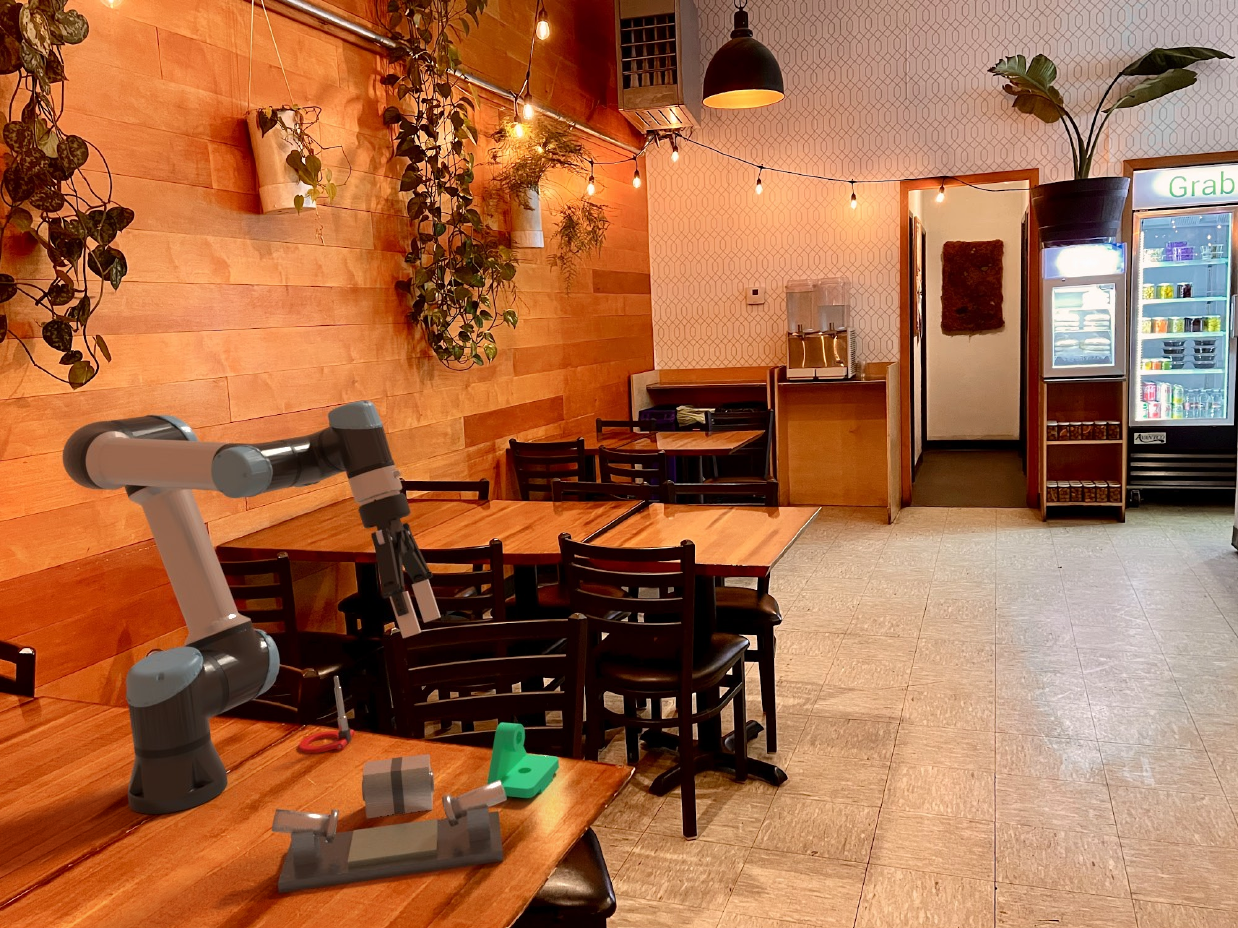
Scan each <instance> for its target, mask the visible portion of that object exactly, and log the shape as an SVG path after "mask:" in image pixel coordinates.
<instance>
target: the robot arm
mask: <svg viewBox="0 0 1238 928" xmlns="http://www.w3.org/2000/svg"><path fill="white" fill-rule="evenodd" d="M327 418H328V421H329V423H328V425H329V426H327V427H326V428H324V429H321V430H318V431H316V432H313V433H310V434H307V435H302V436H296V437H290V438H284V439H277V440H273V441H265V442H258V443H245V442H241V443H240V442H224V441H223V442H219V441H218V442H217V441H216V442H215V441H201V440H198V436H197V434H196V433H195V432H194V430H193V429H192V428H191V427H190V426H189V424H187V422H186V421H184V420H182V419H181V418H178V417H176V416H174V415H169V414H165V415H164V414H163V415H162V414H159V415H158V414H146V415H143V416H137V417H135V416H134V417H128V418H123V419H122V418H121V419H111V420H102V421H101V420H98V421H95V422H92V423H88V424H85V425H84V426H81V427H80V428H78V429H77V430H75V431H74V432H73V433H72V434H71V435H70V436H69V438H68V439H67V441H66V442H65V444H64V446H63V449H62V464H63V467H64V470H65V472H66V474H67V475H68V476H69V477H70V478H71V480H72V481H74V482H75V483H76V484H78V485H79V486H81V487H84V488H86V489H91V490H108V491H109V490H110V491H113V490H120V489H123V488H124V490H125V492H126V495H127V498H128V500H129V501H131V502H132V503H135V504H138V505H140V506H141V508H142V510H143V513H144V516H145V518H146V521H147V523H148V526H149V529H150V532H151V534H152V537H153V539H154V542H155V545H156V547H157V550H158V553H159V555H160V558H161V560H162V563H163V566H164V569H165V571H166V574H167V577H168V580H169V581H170V584H171V587H172V589H173V593H174V595H175V598H176V600H177V603H178V607H179V608H180V611H181V614H182V617H183V618H184V621H185V624H186V627H187V630H188V635H187V637H186V639H185V641H184V643H183V644H184V646H177V647H172V648H169V649H166V650H160V651H157V652H155V653H152V654H150V655H147V656H145V657H143V658H141V659H139V661H137V662H136V663H134V664H133V665H132V666H131V667H130V669H129V670H128V672H127V675H126V678H125V682H126V693H125V698H126V701H127V705H128V711H129V717H130V718H129V719H130V720H129V721H130V727H131V733H132V734H131V735H132V743H133V749H134V750H133V751H134V761H133V767H132V769H131V775H130V779H129V784H128V789H127V799H128V806H129V808H130V809H131V810H133V811H135V812H136V813H140V814H145V815H159V814H160V815H162V814H163V815H164V814H168V813H176V812H181V811H185V810H188V809H191V808H194V807H196V806H199V805H203V804H205V803H206V802H209V801H210V800H213V799H214V798H216V797H217V796H219V795H220V794H222V793H223V792H224V790H225V789H226V788H227V787H228V774H227V768H226V767H225V765H224V762H223V761H222V759H221V757H220V755H219V753H218V751H217V749H216V747H215V745H214V743H213V741H212V736H211V727H210V726H211V725H210V719H211V718H214V717H216V716H218V715H221V714H223V713H224V712H227V711H229V710H231V709H234V708H235V707H237V706H239V705H242V704H244V703H247V702H250V701H253V700H254V699H255V700H256V698H258V697H259V696H260V695H262V694H264V693H266V692H267V691H268V690H269V689H270V688H271V687H272V686H273V685H274V683H275V682H276V680H277V676H278V674H279V670H280V662H281V661H280V654H279V650H278V647H277V645H276V642H275V641H274V639H273V637H271V636H270V635H268V633H267V632H266V631H265V630H262V629H259V628H258V629H257V628H254V625H253V622H252V620H251V618H250V617H248V616H245V615H242V614H241V613H239V612H238V607H237V606H236V603H235V600H234V598H233V595H232V593H231V592H232V591H231V589H230V587H229V585H228V582H227V579H226V577H225V574H224V572H223V569H222V566H221V563H220V561H219V559H218V556H217V554H216V553H217V552H216V551H215V547H214V546H213V542H212V539H211V537H210V535H209V533H208V529H207V527H206V524H205V522H204V519H203V516H202V514H201V511H200V508H199V505H198V503H197V500H196V498H195V497H196V496H194V492H193V490H201V491H213V492H219V493H221V494H223V495H224V496H225V497H227V498H230V499H240V498H252V497H256V496H258V495H261V494H265V493H270V492H275V491H277V490H282V489H289V488H292V487H295V488H304V487H308V486H311V485H317V484H318V483H320V482H322V481H324V480H326V479H329V478H331V477H334V476H336V475H339V474H340V473H344V472H345V473H346V476H347V480H348V483H349V486H350V489H351V493H352V496H353V499H354V502H355V503H356V504H359V505H360V506H358V513H359V516H360V519H361V522H362V526H363V527H364V529H367V530H368V529H372V528H375V527H376V530H377V531H374V532H371V534H370V536H371V539H372V540H371V541H372V542H373V546H374V550H375V557H376V561H377V562H376V563H377V564H376V565H377V569H378V574H379V581H380V586H381V587H380V588H381V597H382V598H383V599H388V598H389V599H390V603H391V606H392V609H393V610H392V611H393V612H394V615H395V618H396V622H397V624H398V627H399V631H400V634H401V636H402V639H406V638H410V637H411V636H414V635H418V634H420V633H422V630H421V628H420V624H419V621H418V617H417V615H416V612H415V609H414V606H413V602H412V599H411V596H410V594H409V591H408V590H407V591H406V588H405V580H404V579H405V577H404V570H405V571H406V573H407V574H408V576H409V578H410V579H411V581H412V583H413V584H411V587H412V590H413V593H414V596H415V598H416V602H417V604H418V609H419V611H420V614H421V617H422V620H423V623H428V622H431V621H434V620H437V619H440V618H441V614H440V611H439V608H438V605H437V601H436V598H435V595H434V592H433V589H432V587H431V584H430V580H429V579H431V578H433V576H434V575H433V572H432V570H430V568H429V566H428V565H427V563H426V561H425V558H424V556H423V554H422V552H421V550H420V547H419V545H418V544H417V541H416V540H415V539H416V538H415V537H414V535H413V533H412V530H411V528H410V526H411V525H410V524H409V522H404V523H402V521H401V519H402V518H406V517H409V516H410V515H411V508H410V505H409V502H408V500H407V497H406V494H404V493H403V492H401V491H402V489H403V486H402V485H403V484H402V482H401V480H400V478H399V477H401V475H402V471H401V470H400V469H399V470H398V469H397V467H396V464H395V461H394V459H393V456H392V453H391V449H390V445H389V443H388V440H387V435H386V431H385V428H384V423H383V422H382V420H381V418H380V415H379V413H378V410H377V408H376V405H375V404H374V402H372V401H371V400H359V401H354V402H350V403H349V402H348V403H347V404H343V405H340V406H337V407H335V408H334V409H332V410H330V411H329V412H328V413H327Z"/></svg>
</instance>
